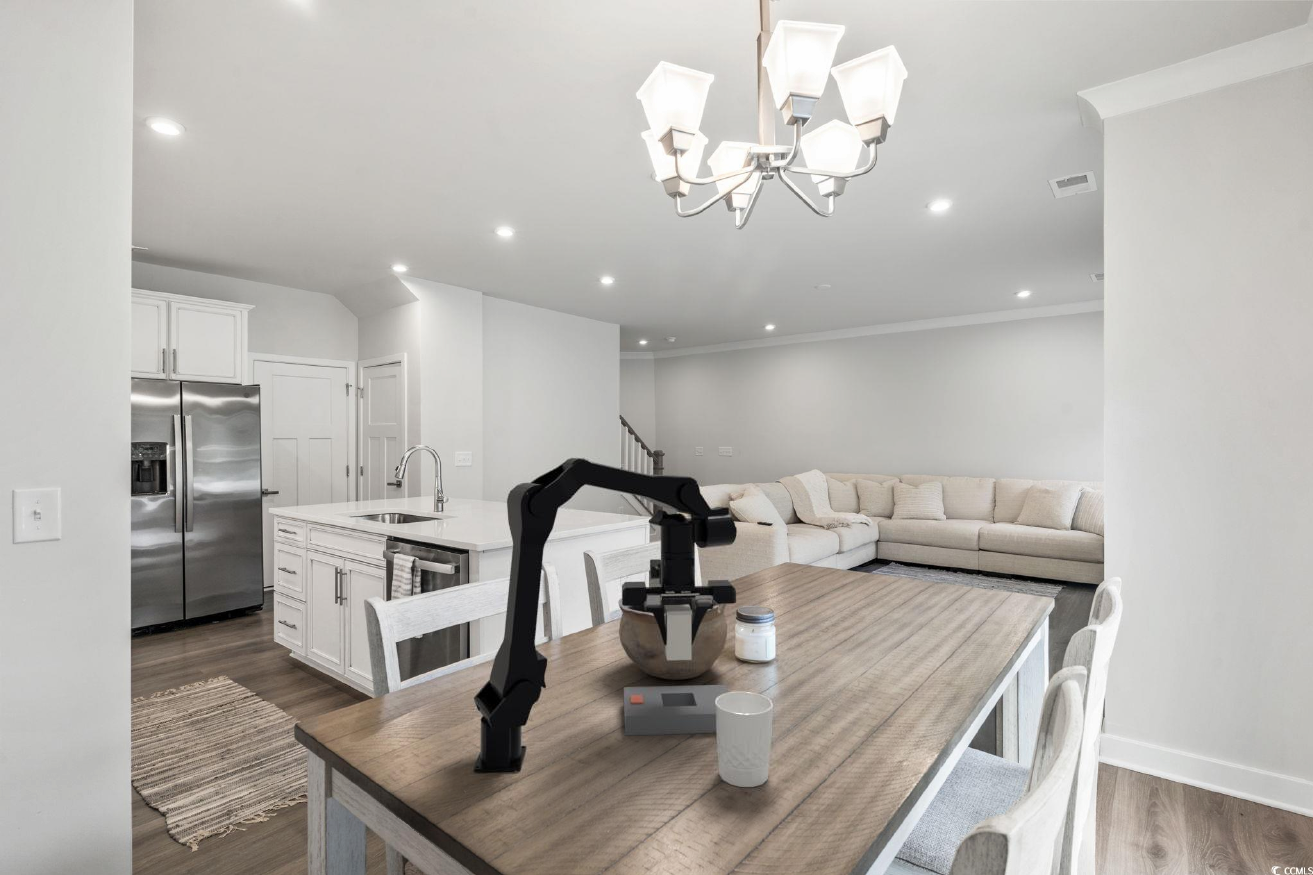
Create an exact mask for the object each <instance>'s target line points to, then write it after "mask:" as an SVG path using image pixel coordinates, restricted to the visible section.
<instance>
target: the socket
mask: <svg viewBox="0 0 1313 875" xmlns="http://www.w3.org/2000/svg"><path fill="white" fill-rule="evenodd" d="M729 692H730V691H729V689H728V688H727V685H726V684H711V685H708V684H707V685H706V684H705V685H702V684H701V685H700V684H699V685H664V686H663V685H662V686H661V685H660V686H627V687H626V686H624V687H623V711H624V712H623V716H624V718H623V719H624V733H625V734H624V735H625V736H652V735H683V734H684V735H686V734H687V735H689V734H716V711H715V700H716V698H717V697H718V696H720V695H722V694H725V693H729Z"/></svg>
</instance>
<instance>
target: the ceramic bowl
mask: <svg viewBox="0 0 1313 875" xmlns="http://www.w3.org/2000/svg"><path fill="white" fill-rule="evenodd" d="M666 593H674V592H666ZM682 593H684V592H682ZM685 593H686V592H685ZM687 593H688V592H687ZM661 602H662V605H663V610H664V618H665V609H664V605H689V606H690V608H691V610H692V598H662V601H661ZM712 604H713V609H708V610H707V612H706V614H705V616H704V618H703V619H702V621H701V623H700V626H699V628H698V631H697V634H696V637H695V639H694V642H693V644H691V652H692V660H667V657H666V653H665V645H664V642H663V639H662V636H661V633H660V629H659V626H658V624H657V621H656V619H655V617H654V615H653V613H652V611H648V610H645V606H644V604H643V605H642V606H624V605H622V597H621V598H620V599H619V600H618V606H619V608H620V610H621V612H622V614H621V617H620V621H619V629H618V633H619V634H618V635H619V641H620V644H621V646H622V648H623V650H624V652H625V654H626V656H627V657H628V658H629V659H630V660H631V661H632V663H634V664H635V665H637V667H638V668H639V669H640V670H642V671H643V672H644V673H646V674H648V675H650V676H653V677H655V678H658V679H663V680H674V681H675V680H686V679H693V678H696V677H698V676H701V675H703V674H704V673H705V672H706V671H708V670H709V669H711V668H712V667H713V665H714V664H715V662H716V661H717V660H718V658H720V656H721V654H722V653H723V651H724V650H725V646H726V644H727V637H728V622H727V618H726V615H725V609H726V606H727V604H718V603H716V602H715V601H714V600H712Z"/></svg>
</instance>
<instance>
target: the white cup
mask: <svg viewBox="0 0 1313 875" xmlns="http://www.w3.org/2000/svg"><path fill="white" fill-rule="evenodd" d="M773 706H774V705H773V701H772V700H771V699H769V698H768V697H766V696H764V695H762V694H760V693H756V692H751V691H750V692H749V691H729V693H725V694H722V695H720V696H718V697H717V698H716V700H715V711H716V733H715V734H716V748H717V750H716V751H717V756H718V758H717V759H718V774H719V776H720V777H721V780H722V781H724V782H726V783H727V784H729V785H731V786H735V787H740V788H754V787H757V786H758V787H759V786H762V785H764V783H766V782H767V781H768V778H769V764H770V758H771V747H772V745H771V744H772V742H771V741H772V733H773V732H772V729H773V728H772V727H773V712H774V711H773V710H774V709H773V708H774V707H773Z"/></svg>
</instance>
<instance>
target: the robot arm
mask: <svg viewBox="0 0 1313 875" xmlns="http://www.w3.org/2000/svg"><path fill="white" fill-rule="evenodd" d="M584 486H589V487H596V488H600V489H604V490H608V491H613V492H614V491H615V492H620V493H624V494H629V495H634V496H637V497H640V498H642V499H644V500H646V501H648V502H650V503H652V504H654V505H657V506H659V507H661V508H664V509H668V510H674V511H676V512H677V513H668V512H667V511H666V510H661V509H658V510H657V511H656V513H655V514H654V515H652V517H651V518H649V520H648V524H650V525H653V526H658V527H660V559H657V558H655V559H650V560H649V578H650V580H652V579H653V580H654V579H658V580H659V581H658V582H659V585H660V586H647V585H646V582H645V581H625V582H623V584H622V585H621V598H622V605H624V606H642V605H643V604H644V606H645V610H648V611H652V613H653V615H654V617H655V619H656V621H657V624H658V626H659V629H660V633H661V636H662V639H663V642H664V645H667V634H666V626H665V618H664V610H663V605H662V602H661V601H662V598H692V615H691V644H693V642H694V639H695V637H696V634H697V631H698V628H699V626H700V623H701V621H702V619H703V618H704V616H705V614H706V612H707V610H708V609H713V604H712V600H714V601H715V602H716V603H718V604H726V605H728V604H729V605H731V604H732V605H733V604H736V603H737V592H736V591H737V590H736V588H735V586H734V585H733V584H732V583H731V581H729V580H728V579H714V580H713V579H711V580H709V579H708V581H707V585H696V555H695V553H696V546H697V547H698V548H700V549H707V548H717V547H725V546H731V545H733V544H734V543H735V541H736V538H737V533H738V530H737V526H736V522H735V521H734V518H733V517H732V515H731V514H730V508H729V507H727V506H715V507H712V508H711V507H710V505H709V504H708V503H707V501H706V499H705V497H704V496H703V495H702V493H701V489H700V486H699V483H698V481H697V480H696V479H695V478H693V477H691V476H685V475H684V476H682V475H673V474H672V475H671V474H646V473H643V472H639V471H633V470H630V469H625V468H620V467H615V466H612V465H607V464H603V463H599V462H594V461H591V460H590V459H587V458H584V457H583V458H582V457H571V458H567V459H566V460H565V461H564V462H563V463H561V464H559V465H558V466H557V467H555V468H553V469H551V470H549V471H547V472H545V473H544V474H542V475H539V476H538V477H536V478H535V479H533V480H532V481H531V482H522V483H519V484H517V485H516V486H514V487H513V488H512V489H511V490H510V491H509V492H508V494H507V499H506V507H507V508H506V509H507V522H508V527H509V531H510V535H511V538H512V552H511V553H512V554H511V561H510V573H509V585H508V592H507V604H506V613H505V614H506V615H505V622H504V623H505V624H504V635H503V640H502V642H501V644H500V646H499V648H498V651H497V652H496V653H495V656H494V660H493V663H492V668H491V671H490V676H489V679H488V681H486V683H485V684H484V685H483V687H481V689H480V690H479V691H477V693H476V695H475V696H474V697H473V701H474V703H475V707H476V709H477V711H478V712H479V713H480V714H481V717H480V752H479V755H478V757H477V758H476V762H475V763H474V766H473V772H475V773H483V772H484V773H487V772H490V773H491V772H514V771H515V772H517V771H520V770H521V769H522V768H523V767H522V766H523V763H524V759H525V757H526V753H527V746H526V745H522V727H525V726H526V725H527V723H528V719H529V717H530V715H531V714H530V713H531V711H532V709H533V708H532V707H533V706H534V705H535V704H536V703H537V702H538V701H539V699H540V698H541V693H542V688H543V689H547V685H546V681H545V679H546V678H545V676H546V671H547V667H548V658H547V657H546V656H544V655H543V654H542V653H540V652H539V650H537V649H536V632H537V625H538V624H537V623H538V612H539V601H540V590H541V581H542V570H543V559H544V557H543V556H544V551H545V545H546V543H547V540H548V539H549V537H550V535H551V534H552V531H553V529H554V526H555V522H556V518H557V514H558V510H559V508H560V507H562V506H564V504H566V503H567V502H569V501H570V500H571V499H572V498H573V497H574V496H575V494H576V493H577V492H579V490H580V489H581V488H583V487H584ZM685 514H687V515H690V517H686V516H685ZM666 592H674V593H666ZM682 592H684V593H682ZM685 592H686V593H685ZM687 592H688V593H687Z"/></svg>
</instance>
